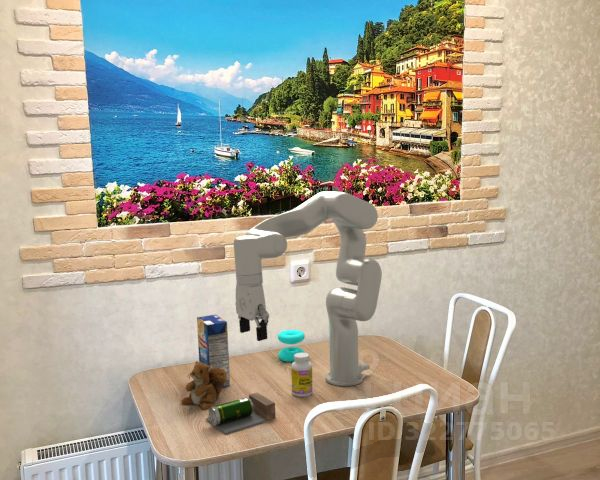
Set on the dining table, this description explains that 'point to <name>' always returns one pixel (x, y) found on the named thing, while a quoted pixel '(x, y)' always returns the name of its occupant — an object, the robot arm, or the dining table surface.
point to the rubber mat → (239, 423)
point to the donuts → (290, 338)
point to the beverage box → (213, 343)
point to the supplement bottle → (301, 375)
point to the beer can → (231, 411)
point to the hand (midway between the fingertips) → (253, 335)
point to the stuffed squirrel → (204, 385)
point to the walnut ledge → (263, 406)
